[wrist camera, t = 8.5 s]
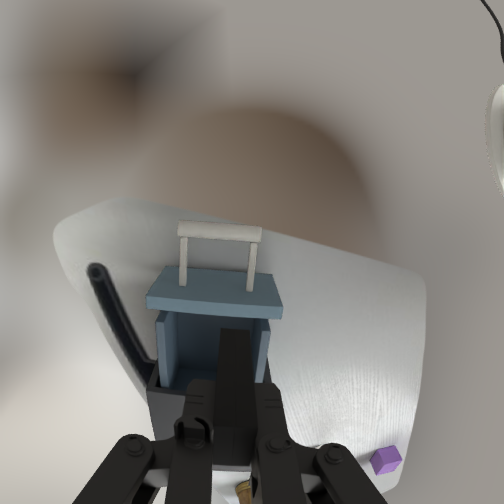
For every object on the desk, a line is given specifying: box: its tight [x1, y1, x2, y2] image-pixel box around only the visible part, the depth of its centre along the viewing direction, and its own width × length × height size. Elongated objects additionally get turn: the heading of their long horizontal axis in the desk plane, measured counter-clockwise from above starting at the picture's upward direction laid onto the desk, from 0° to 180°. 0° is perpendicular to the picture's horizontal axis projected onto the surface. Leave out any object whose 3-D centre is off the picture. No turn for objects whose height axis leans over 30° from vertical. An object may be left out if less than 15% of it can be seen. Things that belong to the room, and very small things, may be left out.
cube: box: [370, 446, 402, 475], centre depth 43 cm, size 4×4×4 cm
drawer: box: [146, 220, 283, 391], centre depth 28 cm, size 19×11×8 cm, turn 174°
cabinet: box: [146, 358, 272, 472], centre depth 31 cm, size 15×13×10 cm
